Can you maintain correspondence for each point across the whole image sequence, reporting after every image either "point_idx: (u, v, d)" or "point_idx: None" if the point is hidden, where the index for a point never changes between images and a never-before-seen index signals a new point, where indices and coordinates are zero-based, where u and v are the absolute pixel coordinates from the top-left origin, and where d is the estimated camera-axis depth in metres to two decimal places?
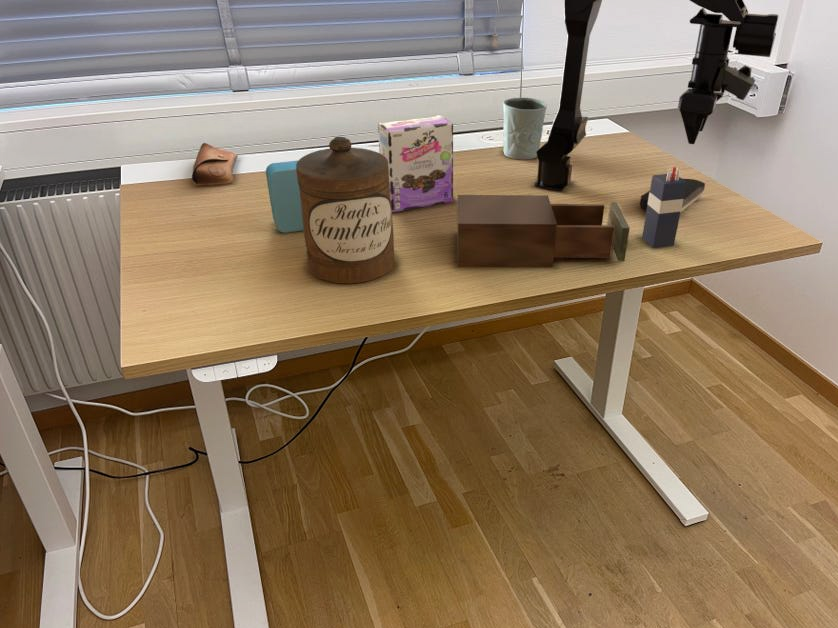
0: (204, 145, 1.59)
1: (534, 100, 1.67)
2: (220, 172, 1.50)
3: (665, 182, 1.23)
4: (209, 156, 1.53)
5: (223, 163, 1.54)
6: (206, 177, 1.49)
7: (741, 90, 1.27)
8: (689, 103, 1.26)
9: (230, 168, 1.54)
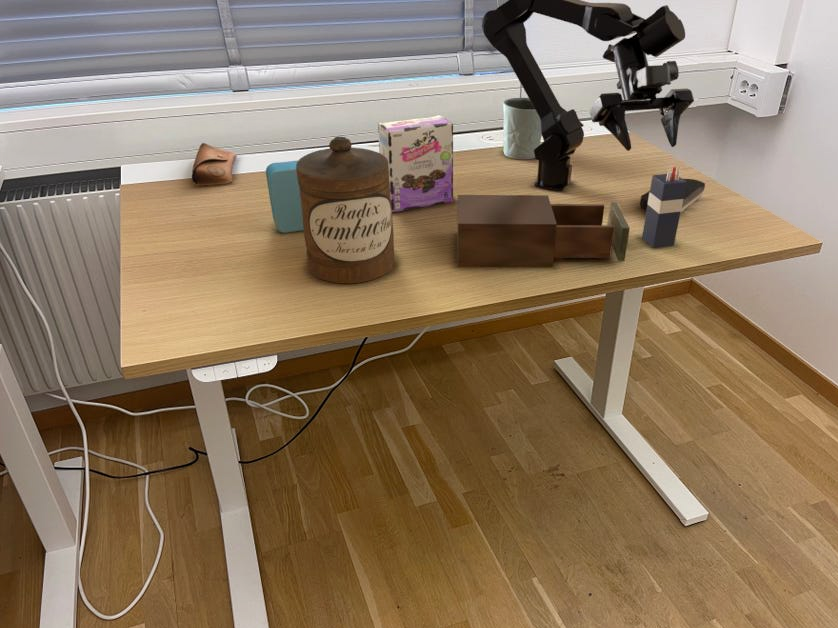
0: (203, 145, 1.59)
1: None
2: (219, 172, 1.50)
3: (665, 182, 1.23)
4: (208, 156, 1.53)
5: (223, 163, 1.54)
6: (206, 177, 1.49)
7: (644, 77, 1.23)
8: (593, 111, 1.29)
9: (229, 168, 1.54)
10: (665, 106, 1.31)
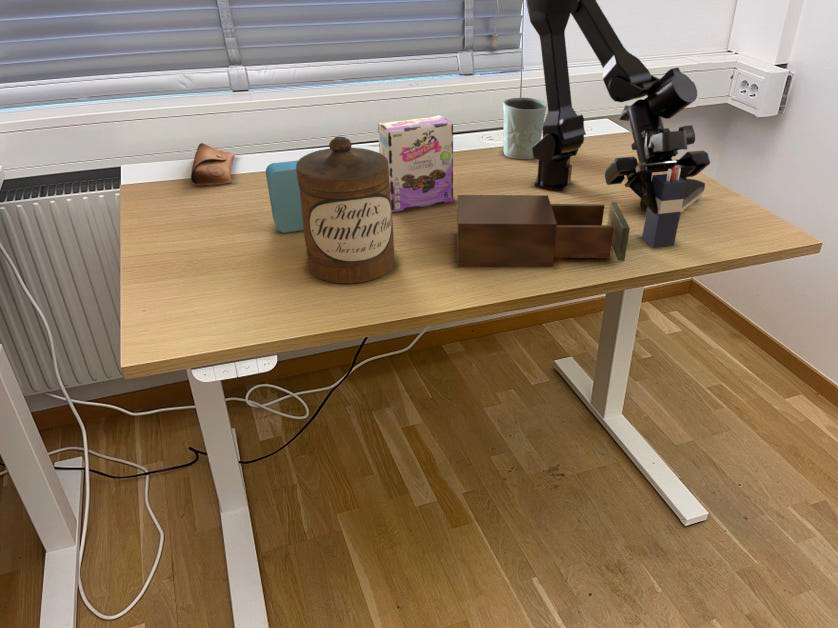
0: (201, 145, 1.59)
1: (534, 100, 1.67)
2: (218, 172, 1.50)
3: (665, 182, 1.23)
4: (207, 156, 1.53)
5: (222, 163, 1.54)
6: (205, 178, 1.49)
7: (660, 143, 1.21)
8: (608, 175, 1.27)
9: (228, 168, 1.54)
10: None
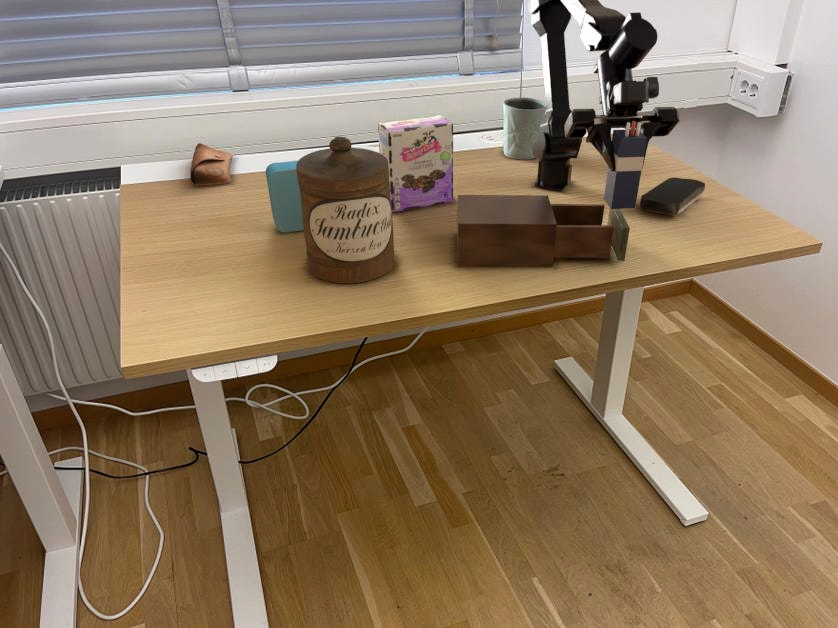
0: (200, 145, 1.59)
1: (534, 100, 1.67)
2: (218, 172, 1.50)
3: (623, 137, 1.15)
4: (206, 156, 1.53)
5: (220, 163, 1.54)
6: (204, 178, 1.49)
7: (619, 93, 1.13)
8: (566, 127, 1.20)
9: (227, 168, 1.54)
10: None
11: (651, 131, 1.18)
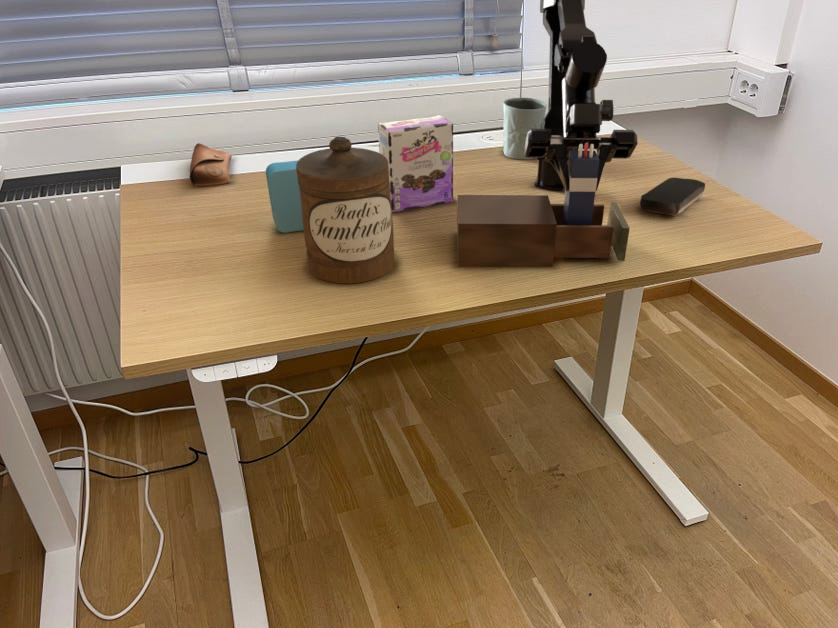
0: (198, 145, 1.59)
1: (534, 100, 1.67)
2: (217, 172, 1.50)
3: (575, 158, 1.16)
4: (205, 156, 1.53)
5: (220, 163, 1.54)
6: (204, 178, 1.49)
7: (572, 115, 1.15)
8: (525, 146, 1.22)
9: (227, 168, 1.54)
10: None
11: (607, 153, 1.19)
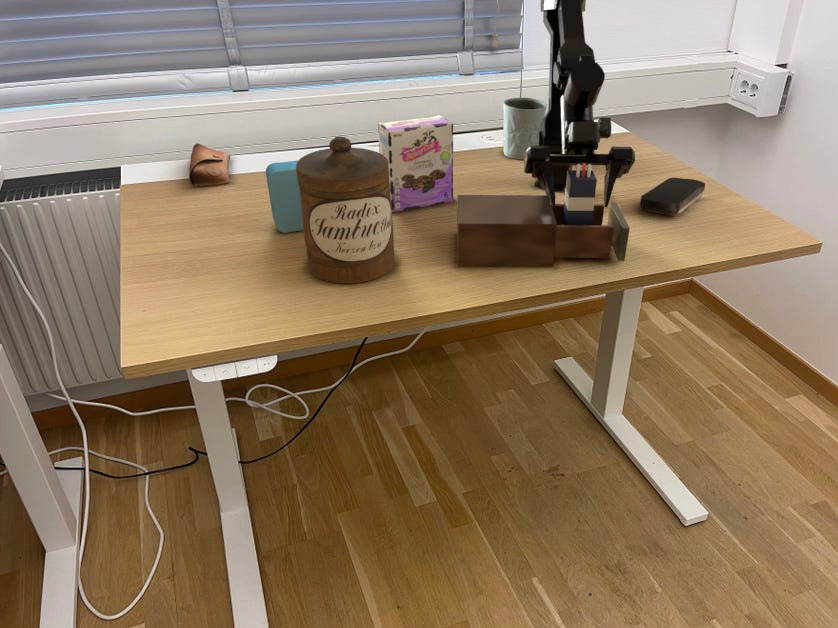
0: (197, 145, 1.58)
1: (534, 100, 1.67)
2: (217, 172, 1.50)
3: (573, 178, 1.18)
4: (204, 156, 1.53)
5: (219, 163, 1.54)
6: (203, 178, 1.49)
7: (571, 133, 1.16)
8: (524, 163, 1.24)
9: (226, 168, 1.54)
10: (605, 163, 1.23)
11: (618, 170, 1.21)
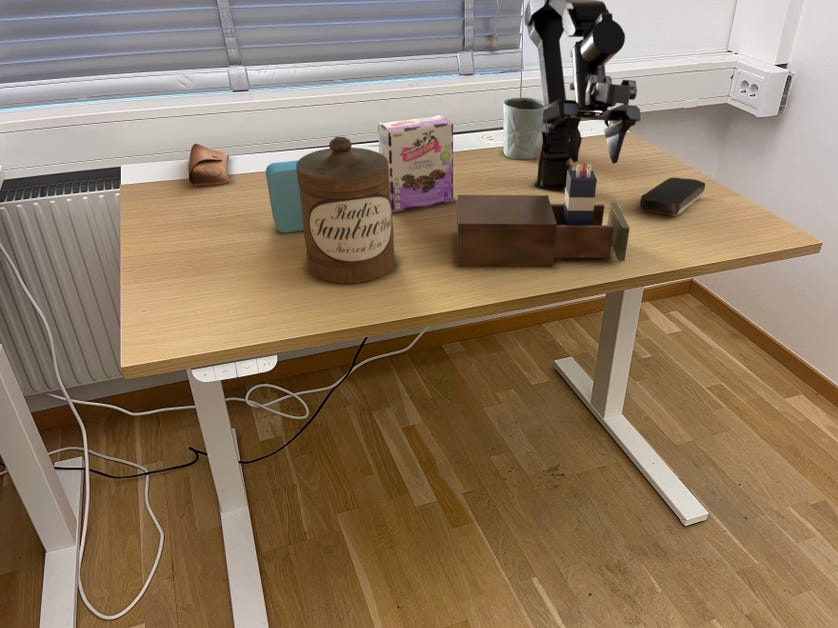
0: (196, 146, 1.58)
1: (534, 100, 1.67)
2: (216, 172, 1.50)
3: (573, 178, 1.18)
4: (203, 156, 1.53)
5: (218, 163, 1.54)
6: (203, 178, 1.49)
7: (606, 94, 1.20)
8: (547, 113, 1.23)
9: (225, 168, 1.54)
10: (613, 119, 1.29)
11: (627, 128, 1.29)
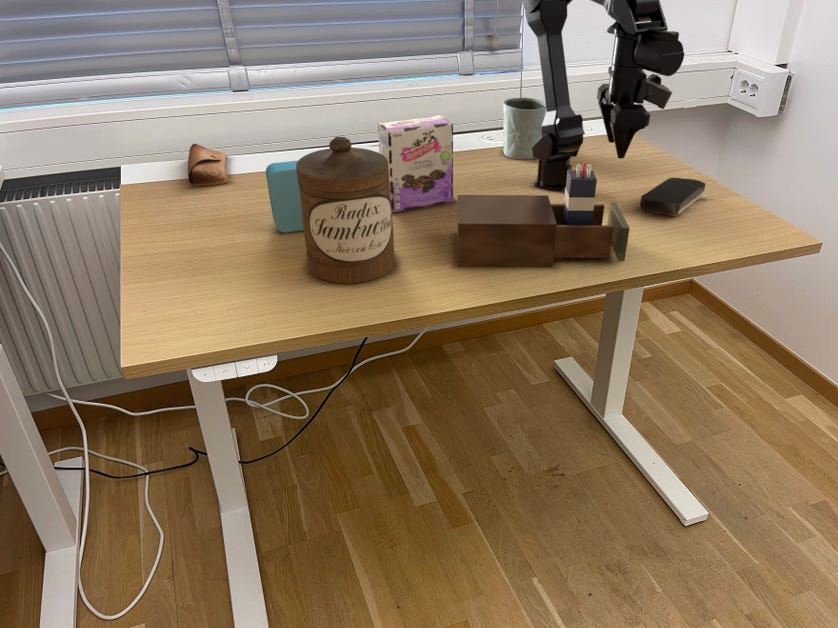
0: (195, 146, 1.58)
1: (534, 100, 1.67)
2: (215, 172, 1.50)
3: (573, 178, 1.18)
4: (203, 156, 1.52)
5: (217, 163, 1.54)
6: (202, 178, 1.49)
7: (662, 100, 1.27)
8: (626, 119, 1.22)
9: (224, 168, 1.54)
10: None
11: None
